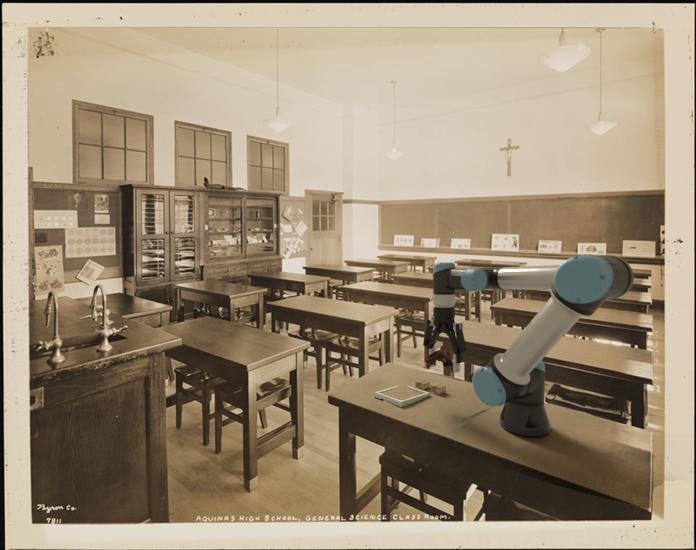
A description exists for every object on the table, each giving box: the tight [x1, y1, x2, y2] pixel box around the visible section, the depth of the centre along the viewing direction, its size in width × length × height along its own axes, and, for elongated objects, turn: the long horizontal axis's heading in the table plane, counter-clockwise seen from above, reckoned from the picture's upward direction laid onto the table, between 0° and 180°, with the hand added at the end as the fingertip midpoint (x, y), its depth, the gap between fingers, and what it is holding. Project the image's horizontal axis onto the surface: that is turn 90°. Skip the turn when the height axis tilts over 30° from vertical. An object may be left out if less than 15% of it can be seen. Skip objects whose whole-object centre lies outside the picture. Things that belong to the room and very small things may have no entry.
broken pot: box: [424, 349, 454, 374], centre depth 144 cm, size 12×9×8 cm
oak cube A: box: [430, 383, 447, 396], centre depth 159 cm, size 4×4×4 cm
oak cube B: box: [415, 379, 431, 390], centre depth 163 cm, size 4×4×4 cm
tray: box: [373, 385, 431, 408], centre depth 156 cm, size 14×16×2 cm
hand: (444, 369), depth 144 cm, fingers closed on broken pot, 10 cm apart
